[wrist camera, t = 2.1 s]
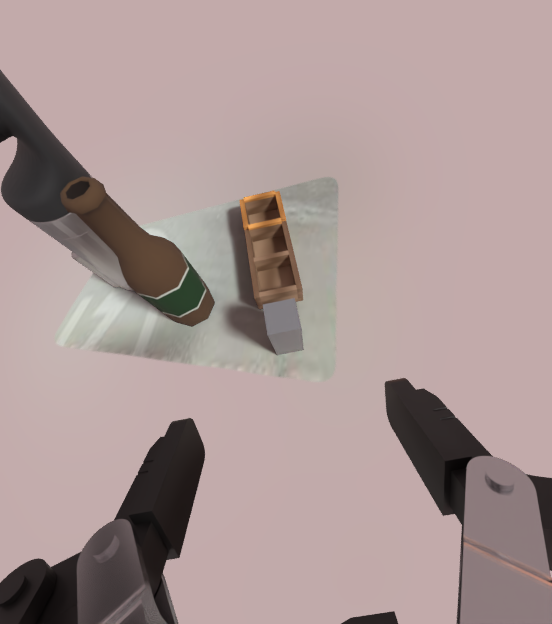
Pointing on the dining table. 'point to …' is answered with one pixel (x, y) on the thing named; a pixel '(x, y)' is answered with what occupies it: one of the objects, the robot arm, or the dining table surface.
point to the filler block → (283, 326)
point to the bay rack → (270, 249)
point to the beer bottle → (141, 254)
